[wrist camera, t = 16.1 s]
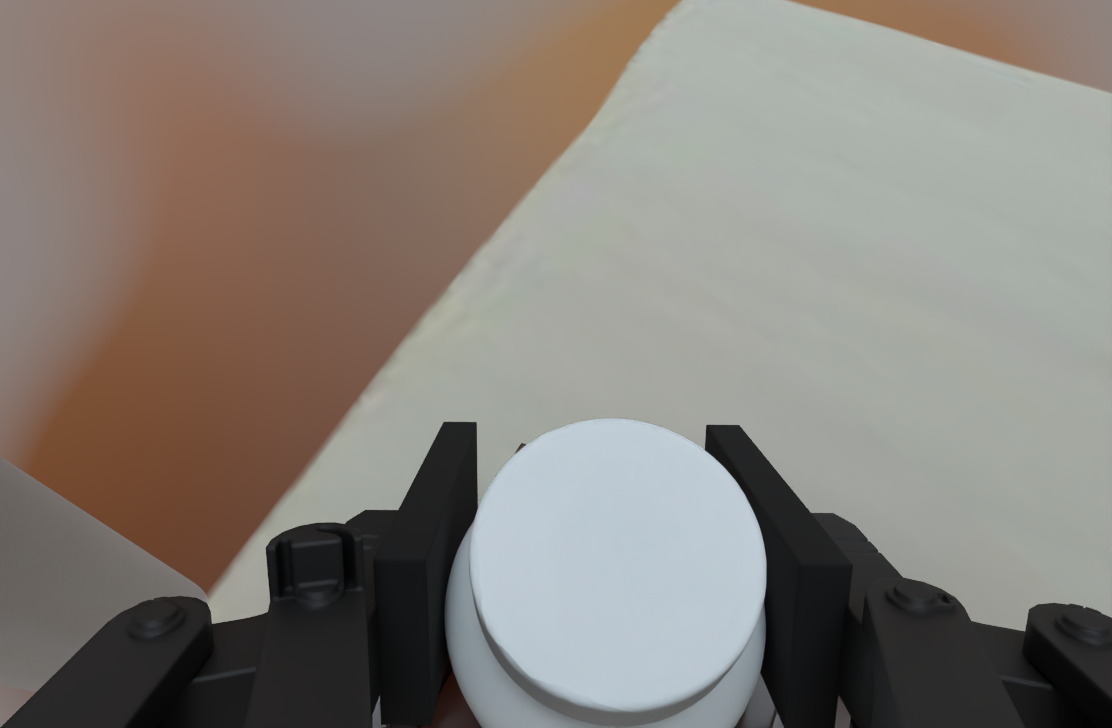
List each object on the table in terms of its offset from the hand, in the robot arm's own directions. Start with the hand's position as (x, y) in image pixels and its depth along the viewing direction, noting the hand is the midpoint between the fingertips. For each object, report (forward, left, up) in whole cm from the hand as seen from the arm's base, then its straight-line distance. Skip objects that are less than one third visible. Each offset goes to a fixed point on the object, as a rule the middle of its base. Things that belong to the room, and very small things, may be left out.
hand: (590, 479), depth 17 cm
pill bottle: (+2, -3, -4) cm, 5 cm away
